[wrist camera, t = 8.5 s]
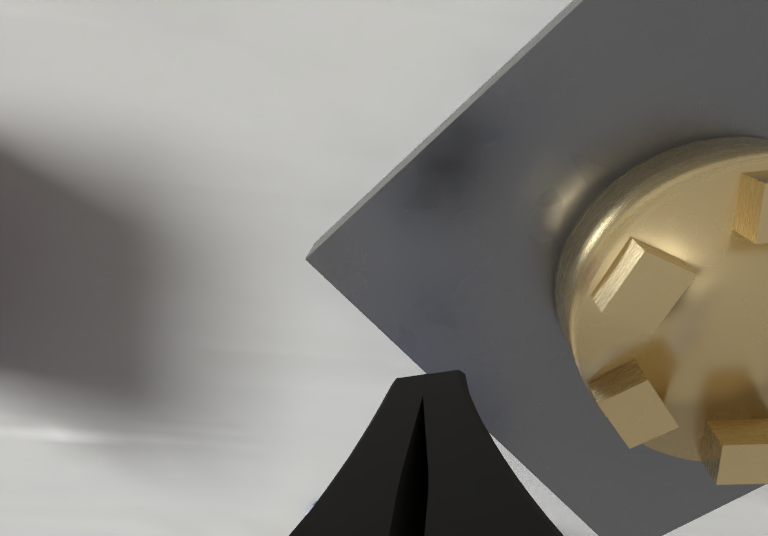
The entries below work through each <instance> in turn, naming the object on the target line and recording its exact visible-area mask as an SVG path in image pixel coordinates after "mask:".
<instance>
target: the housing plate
mask: <svg viewBox="0 0 768 536" xmlns="http://www.w3.org/2000/svg"><path fill="white" fill-rule="evenodd" d="M721 137H752V138H763V139H768V0H573V1H572V2H571V3H570V4H569V5H568V6H567V7H566V8H565V9H564V10H563V11H562V12H561V13H560V14H559V15H557V16H556V17H555V18H554V19H553V20H552V21H551V22H550V23H549V24H548V25H547V26H546V27H545V28H544V29H543V30H541V31H540V32H539V33H538V34H537V35H536V36H535V37H534V38H533V39H532V40H531V41H530V42H529V43H528V44H527V45H525V46H524V47H523V48H522V49H521V50H520V51H519V52H518V53H517V54H516V55H515V56H514V57H513V58H512V59H511V60H509V61H508V62H507V63H506V64H505V65H504V66H503V67H502V68H501V69H500V70H499V71H498V72H497V73H496V74H495V75H494V76H492V77H491V78H490V79H489V80H488V81H487V82H486V83H485V84H484V85H483V86H482V87H481V88H480V89H479V90H478V91H476V92H475V93H474V94H473V95H472V96H471V97H470V98H469V99H468V100H467V101H466V102H465V103H464V104H463V105H462V106H460V107H459V108H458V109H457V110H456V111H455V112H454V113H453V114H452V115H451V116H450V117H449V118H448V119H447V120H446V121H444V122H443V123H442V124H441V125H440V126H439V127H438V128H437V129H436V130H435V131H434V132H433V133H432V134H431V135H430V136H429V137H427V138H426V139H425V140H424V141H423V142H422V143H421V144H420V145H419V146H418V147H417V148H416V149H415V150H414V151H413V152H411V153H410V154H409V155H408V156H407V157H406V158H405V159H404V160H403V161H402V162H401V163H400V164H399V165H398V166H397V167H395V168H394V169H393V170H392V171H391V172H390V173H389V174H388V175H387V176H386V177H385V178H384V179H383V180H382V181H381V182H380V183H378V184H377V185H376V186H375V187H374V188H373V189H372V190H371V191H370V192H369V193H368V194H367V195H366V196H365V197H364V198H362V199H361V200H360V201H359V202H358V203H357V204H356V205H355V206H354V207H353V208H352V209H351V210H350V211H349V212H348V213H346V214H345V215H344V216H343V217H342V218H341V219H340V220H339V221H338V222H337V223H336V224H335V225H334V226H333V227H332V228H330V229H329V230H328V231H327V232H326V233H325V234H324V235H323V236H322V237H321V238H320V239H319V240H318V241H317V242H316V243H315V244H314V245H313V247H312V249H311V250H310V252H309V254H308V255H307V257H306V260H307V261H308V262H309V263H310V264H311V265H312V266H313V267H314V268H315V269H316V270H317V271H318V272H319V273H321V274H322V275H323V276H324V277H325V278H326V279H327V280H328V281H329V282H330V283H331V284H332V285H333V286H334V287H335V288H336V289H338V290H339V291H340V292H341V293H342V294H343V295H344V296H345V297H346V298H347V299H348V300H349V301H350V302H351V303H352V304H353V305H354V306H356V307H357V308H358V309H359V310H360V311H361V312H362V313H363V314H364V315H365V316H366V317H367V318H368V319H369V320H370V321H371V322H373V323H374V324H375V325H376V326H377V327H378V328H379V329H380V330H381V331H382V332H383V333H384V334H385V335H386V336H387V337H388V338H390V339H391V340H392V341H393V342H394V343H395V344H396V345H397V346H398V347H399V348H400V349H401V350H402V351H403V352H404V353H405V354H406V355H408V356H409V357H410V358H411V359H412V360H413V361H414V362H415V363H416V364H417V365H418V366H419V367H420V368H421V369H422V370H423V371H425V372H426V373H427V374H431V373H438V372H445V371H452V370H460V371H462V372H463V373H465V374H466V379H467V384H468V389H469V393H470V396H471V398H472V401H473V403H474V405H475V407H476V410H477V412H478V414H479V416H480V418H481V420H482V422H483V423H484V425H485V427H486V429H487V430H488V432H489V433H490V434H491V435H492V436H494V437H495V438H496V439H497V440H498V441H499V442H500V443H501V444H502V445H503V446H504V447H505V448H506V449H507V450H508V451H509V452H511V453H512V454H513V455H514V456H515V457H516V458H517V459H518V460H519V461H520V462H521V463H522V464H523V465H524V466H525V467H526V468H527V469H529V470H530V471H531V472H532V473H533V474H534V475H535V476H536V477H537V478H538V479H539V480H540V481H541V482H542V483H543V484H544V485H546V486H547V487H548V488H549V489H550V490H551V491H552V492H553V493H554V494H555V495H556V496H557V497H558V498H559V499H560V500H561V501H563V502H564V503H565V504H566V505H567V506H568V507H569V508H570V509H571V510H572V511H573V512H574V513H575V514H576V515H577V516H578V517H579V518H581V519H582V520H583V521H584V522H585V523H586V524H587V525H588V526H589V527H590V528H591V529H592V530H593V531H594V532H595V533H596V534H598V535H599V536H662V535H664V534H666V533H668V532H670V531H672V530H674V529H676V528H678V527H681V526H683V525H685V524H687V523H689V522H691V521H693V520H695V519H697V518H699V517H701V516H703V515H705V514H707V513H709V512H711V511H713V510H715V509H717V508H719V507H721V506H723V505H725V504H727V503H729V502H731V501H733V500H735V499H737V498H739V497H741V496H743V495H745V494H747V493H749V492H751V491H753V490H755V489H757V488H759V487H761V486H763V485H765V484H731V485H716V484H715V482H714V480H713V479H712V477H711V476H710V474H709V472H708V471H707V469H706V468H705V466H704V464H703V463H702V461H693V460H687V459H683V458H679V457H674V456H670V455H667V454H665V453H662V452H659V451H656V450H653V449H651V448H649V447H647V446H645V445H643V444H640V445H637V446H635V447H633V448H631V449H629V447H628V446H627V444H626V443H625V442H624V440H623V439H622V437H621V436H620V435H619V433H618V432H617V430H616V429H615V428H614V426H613V425H612V423H611V422H610V421H609V420H608V419H607V418H606V417H605V416H604V414H603V413H602V412H601V411H600V410H599V408H598V407H597V406H596V404H595V402H594V401H593V399H592V397H591V396H590V394H589V393H588V390H587V388H586V386H585V383H584V381H583V379H582V376H581V374H580V372H579V369H578V367H577V365H576V362H575V360H574V358H573V355H572V353H571V351H570V348H569V346H568V344H567V341H566V339H565V337H564V334H563V332H562V329H561V327H560V324H559V321H558V316H557V312H556V307H555V293H554V292H555V279H556V272H557V268H558V264H559V259H560V256H561V254H562V251H563V249H564V246H565V243H566V241H567V239H568V237H569V235H570V234H571V232H572V230H573V228H574V226H575V224H576V223H577V222H578V220H579V219H580V217H581V216H582V215H583V213H584V212H585V210H586V209H587V208H588V207H589V206H590V205H591V203H592V202H593V201H594V200H595V199H596V198H597V197H598V196H599V195H600V194H601V193H602V192H603V191H604V190H605V189H606V188H607V187H608V186H610V185H611V184H612V183H613V182H614V181H615V180H616V179H618V178H619V177H621V176H622V175H624V174H625V173H627V172H628V171H629V170H631V169H632V168H634V167H635V166H637V165H639V164H641V163H643V162H644V161H646V160H648V159H650V158H652V157H654V156H656V155H658V154H661V153H663V152H666V151H668V150H671V149H673V148H675V147H679V146H682V145H686V144H689V143H693V142H697V141H702V140H708V139H714V138H721Z"/></svg>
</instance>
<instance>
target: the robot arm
mask: <svg viewBox="0 0 768 536" xmlns="http://www.w3.org/2000/svg"><path fill="white" fill-rule="evenodd" d="M289 536H563V534H562V533H561V532H560V531H559V530H558V529H557V527H556V526H555V525H554V524H553V523H552V522H551V520H550V519H549V518H548V517H547V516H546V514H545V513H544V512H543V511H542V509H541V508H540V507H539V506H538V504H537V503H536V502H535V501H534V499H533V498H532V497H531V495H530V494H529V493H528V491H527V490H526V489H525V488H524V486H523V485H522V483H521V482H520V481H519V479H518V478H517V476H516V475H515V473H514V472H513V471H512V469H511V468H510V466H509V465H508V463H507V462H506V460H505V459H504V457H503V456H502V454H501V452H500V451H499V449H498V448H497V446H496V445H495V443H494V441H493V439H492V438H491V436H490V434H489V432H488V430H487V429H486V427H485V425H484V423H483V422H482V420H481V418H480V416H479V414H478V412H477V410H476V407H475V405H474V403H473V401H472V398H471V396H470V393H469V389H468V384H467V379H466V374H465V373H463V372H462V371H460V370H452V371H445V372H438V373H431V374H424V375H417V376H410V377H403V378H396V380H395V381H394V382H393V384H392V385H391V387H390V389H389V391H388V393H387V394H386V396H385V398H384V400H383V402H382V403H381V405H380V407H379V409H378V410H377V412H376V414H375V416H374V417H373V419H372V421H371V423H370V424H369V426H368V428H367V429H366V431H365V432H364V434H363V436H362V437H361V439H360V440H359V442H358V443H357V445H356V447H355V448H354V450H353V451H352V453H351V455H350V456H349V458H348V459H347V461H346V462H345V463H344V465H343V466H342V468H341V469H340V470H339V472H338V473H337V475H336V476H335V478H334V479H333V480H332V482H331V483H330V485H329V486H328V487H327V489H326V490H325V492H324V493H323V494H322V496H321V497H320V498H319V500H318V501H317V502H316V503H315V505H312V506H310V507H308V509H307V512H306V515H305V517H304V518H303V520H302V521H301V522H300V523H299V524H298V526H297V527H296V528H295V529H294V530H293V531H292V533H291V534H290V535H289Z"/></svg>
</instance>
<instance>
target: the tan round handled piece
mask: <svg viewBox="0 0 768 536" xmlns="http://www.w3.org/2000/svg"><path fill="white" fill-rule="evenodd" d="M554 293H555V307H556V312H557V316H558V321H559V324H560V327H561V329H562V332H563V334H564V337H565V339H566V341H567V344H568V346H569V348H570V351H571V353H572V355H573V358H574V360H575V362H576V365H577V367H578V369H579V372H580V374H581V376H582V379H583V381H584V383H585V386H586V388H587V390H588V393H589V394H590V396H591V397H592V399H593V401H594V402H595V404H596V406H597V407H598V408H599V410H600V411H601V412H602V413H603V414H604V416H605V417H606V418H607V419H608V420H609V421H610V422H611V423H612V425H613V426H614V428H615V429H616V430H617V432H618V433H619V435H620V436H621V437H622V439H623V440H624V442H625V443H626V444H627V446H628V447H629V449H631V448H633V447H635V446H637V445H640V444H643V445H645V446H647V447H649V448H651V449H653V450H656V451H659V452H662V453H665V454H667V455H670V456H674V457H679V458H683V459H687V460H693V461H702V463H703V464H704V466H705V468H706V469H707V471H708V472H709V474H710V476H711V477H712V479H713V480H714V482H715V484H716V485H731V484H768V139H763V138H752V137H721V138H714V139H708V140H702V141H697V142H693V143H689V144H686V145H682V146H679V147H675V148H673V149H671V150H668V151H666V152H663V153H661V154H658V155H656V156H654V157H652V158H650V159H648V160H646V161H644V162H643V163H641V164H639V165H637V166H635V167H634V168H632V169H631V170H629V171H628V172H627V173H625V174H624V175H622V176H621V177H619V178H618V179H616V180H615V181H614V182H613V183H612V184H611V185H610V186H608V187H607V188H606V189H605V190H604V191H603V192H602V193H601V194H600V195H599V196H598V197H597V198H596V199H595V200H594V201H593V202H592V203H591V205H590V206H589V207H588V208H587V209H586V210H585V212H584V213H583V215H582V216H581V217H580V219H579V220H578V222H577V223H576V224H575V226H574V228H573V230H572V232H571V234H570V235H569V237H568V239H567V241H566V243H565V246H564V249H563V251H562V254H561V256H560V259H559V264H558V268H557V272H556V279H555V292H554Z"/></svg>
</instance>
